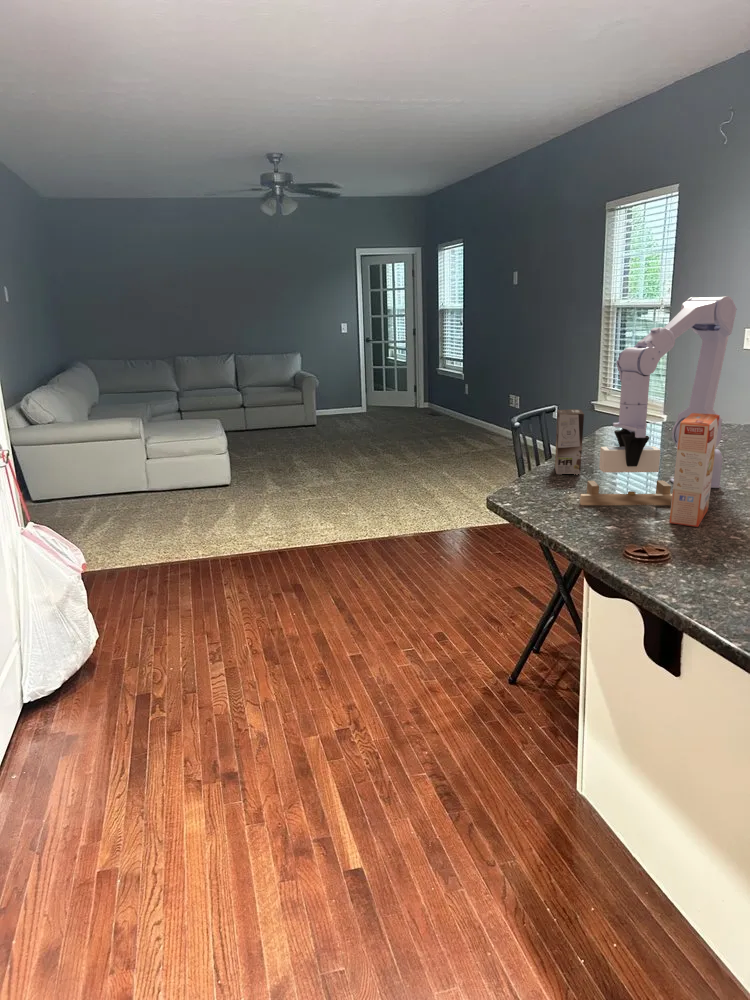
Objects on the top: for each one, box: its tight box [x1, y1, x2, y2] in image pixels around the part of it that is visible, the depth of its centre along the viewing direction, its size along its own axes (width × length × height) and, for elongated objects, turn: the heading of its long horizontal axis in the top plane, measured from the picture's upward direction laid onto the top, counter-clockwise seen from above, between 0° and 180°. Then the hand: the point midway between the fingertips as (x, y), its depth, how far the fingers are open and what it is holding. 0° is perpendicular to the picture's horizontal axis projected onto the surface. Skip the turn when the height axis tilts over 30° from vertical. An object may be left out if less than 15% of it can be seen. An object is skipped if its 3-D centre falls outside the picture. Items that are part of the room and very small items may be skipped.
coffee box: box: [554, 408, 585, 476], centre depth 186 cm, size 9×6×16 cm
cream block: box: [598, 446, 661, 473], centre depth 157 cm, size 12×4×5 cm, turn 85°
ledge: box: [579, 480, 672, 506], centre depth 158 cm, size 22×7×4 cm, turn 86°
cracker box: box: [669, 413, 721, 528], centre depth 143 cm, size 14×6×21 cm, turn 148°
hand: (629, 463), depth 158 cm, fingers closed on cream block, 4 cm apart
